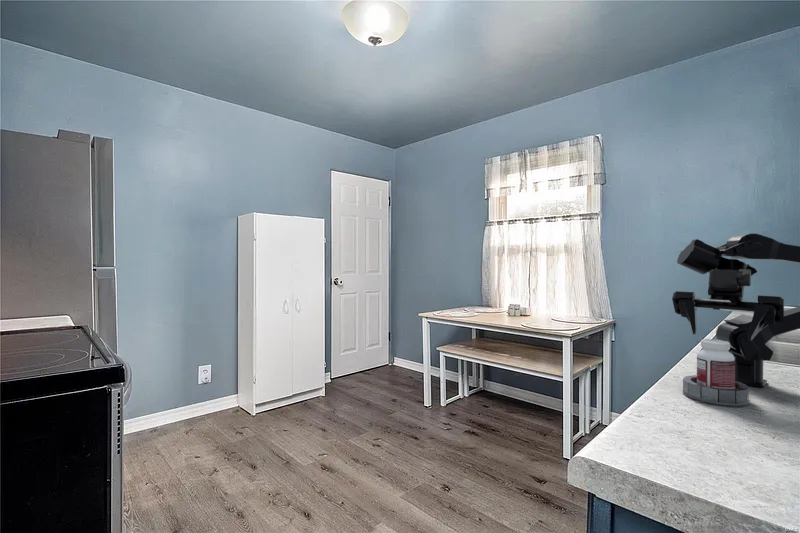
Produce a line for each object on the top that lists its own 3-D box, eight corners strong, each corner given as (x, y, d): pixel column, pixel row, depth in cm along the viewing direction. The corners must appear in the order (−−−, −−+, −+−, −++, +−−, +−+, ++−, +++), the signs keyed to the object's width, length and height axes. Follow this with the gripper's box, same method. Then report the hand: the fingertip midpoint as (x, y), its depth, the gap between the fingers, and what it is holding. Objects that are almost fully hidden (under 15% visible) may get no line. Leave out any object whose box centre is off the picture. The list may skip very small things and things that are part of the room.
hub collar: (689, 385, 90) (689, 372, 90) (753, 397, 82) (753, 382, 82) (676, 397, 82) (676, 382, 82) (745, 411, 75) (745, 395, 75)
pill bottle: (739, 395, 81) (740, 342, 81) (728, 401, 78) (728, 345, 78) (703, 387, 87) (703, 337, 86) (691, 393, 83) (691, 340, 83)
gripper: (674, 256, 94) (662, 307, 86) (784, 256, 81) (781, 316, 73) (681, 288, 100) (670, 338, 92) (785, 293, 86) (782, 352, 79)
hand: (720, 336), depth 84 cm, fingers open, 9 cm apart
